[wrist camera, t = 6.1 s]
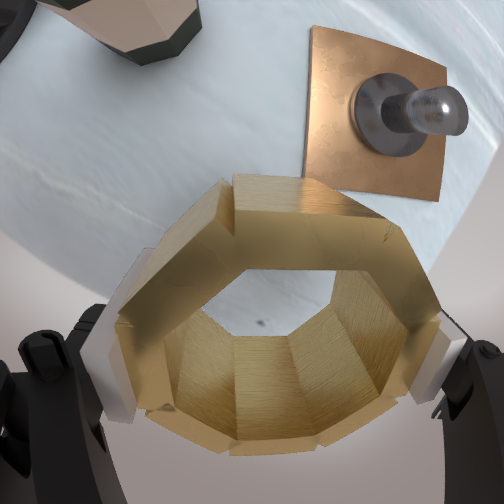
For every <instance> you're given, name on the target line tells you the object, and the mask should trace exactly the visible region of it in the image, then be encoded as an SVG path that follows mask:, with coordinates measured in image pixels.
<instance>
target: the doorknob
mask: <svg viewBox="0 0 504 504" xmlns="http://www.w3.org/2000/svg"><path fill="white" fill-rule="evenodd" d="M468 118H469V116H468V108H467V105H466V102H465V100H464V98H463V97H462V95H461V94H460V93H459V92H458V91H457V90H456V89H455V88H453V87H451V86H447V69H446V67H444V66H442V65H440V64H438V63H436V62H433V61H431V60H429V59H426V58H424V57H422V56H419V55H417V54H414V53H412V52H409V51H406V50H404V49H401V48H398V47H395V46H392V45H389V44H386V43H383V42H380V41H377V40H374V39H370V38H367V37H363V36H360V35H356V34H352V33H348V32H344V31H340V30H336V29H331V28H326V27H321V26H316V25H313V26H312V27H311V28H310V51H309V78H308V98H307V116H306V132H305V146H304V159H303V172H302V178H309V179H315V180H317V181H319V182H321V183H323V184H325V185H327V186H329V187H330V188H333V189H343V190H353V191H362V192H370V193H379V194H386V195H394V196H401V197H408V198H415V199H422V200H428V201H434V202H439V195H440V189H441V182H442V174H443V165H444V155H445V143H446V135H452V136H458V135H460V134H462V133H463V132H464V131H465V129H466V127H467V125H468Z"/></svg>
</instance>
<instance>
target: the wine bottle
mask: <svg viewBox="0 0 504 504" xmlns="http://www.w3.org/2000/svg"><path fill="white" fill-rule="evenodd" d="M35 1H36V2H38V3H40V4H42V5H43V6H45V7H47V8H48V9H50V10H52V11H53V12H55V13H56V14H58V15H60V16H61V17H63V18H64V19H66V20H68V21H69V22H71V23H72V24H74V25H75V26H77V27H78V28H80V29H81V30H83V31H84V32H86V33H87V34H89V35H90V36H92V37H93V38H95V39H96V40H98V41H99V42H101V43H102V44H104V45H105V46H106V47H108V48H109V49H111V50H112V51H113V52H115V53H117V54H119V55H121V56H123V57H125V58H127V59H129V60H131V61H133V62H135V63H137V64H139V65H141V66H142V65H145V64H149V63H152V62H156V61H159V60H163V59H167V58H171V57H175V56H179V54H180V53H181V52H182V51H183V49H184V48H185V47H186V46H187V45H188V43H189V42H190V41H191V40H192V39H193V38H194V36H195V35H196V34H197V33H198V32H199V31H200V30H201V28H202V24H201V18H200V11H199V5H198V0H35Z"/></svg>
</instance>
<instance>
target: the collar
mask: <svg viewBox="0 0 504 504" xmlns="http://www.w3.org/2000/svg"><path fill="white" fill-rule="evenodd" d="M246 269H275V270H337V271H336V276H335V281H334V286H333V291H332V296H331V301H330V304H329V305H328V306H326V307H325V308H324V309H322V310H321V311H320V312H319V313H317V314H316V315H315V316H313V317H312V318H311V319H309V320H308V321H307V322H305V323H304V324H303V325H301V326H300V327H299V328H297V329H296V330H295V331H293V332H292V333H291V334H289V335H288V336H232V335H231V334H230V333H229V332H227V331H226V330H225V329H224V328H223V327H221V326H220V325H219V324H218V323H217V322H215V321H214V320H213V319H212V318H211V317H209V316H208V315H207V314H206V313H205V312H203V311H202V310H201V309H200V308H201V307H202V306H203V305H204V304H205V303H207V302H208V301H209V300H210V299H211V298H213V297H214V296H215V295H216V294H217V293H219V292H220V291H221V290H222V289H223V288H225V287H226V286H227V285H228V284H229V283H231V282H232V281H233V280H234V279H235V278H237V277H238V276H239V275H240V274H241V273H242V272H244V271H245V270H246ZM441 310H442V308H441V306H440V304H439V301H438V299H437V297H436V295H435V292H434V290H433V288H432V286H431V284H430V282H429V280H428V278H427V276H426V274H425V272H424V270H423V268H422V266H421V264H420V262H419V260H418V258H417V256H416V255H415V253H414V251H413V249H412V247H411V245H410V243H409V242H408V240H407V238H406V236H405V235H404V233H403V231H402V229H401V228H400V227H399V226H397V225H396V224H394V223H392V222H391V221H389V220H388V219H386V218H385V217H383V216H381V215H380V214H378V213H376V212H374V211H373V210H371V209H369V208H367V207H366V206H364V205H362V204H360V203H358V202H357V201H355V200H353V199H351V198H349V197H347V196H346V195H344V194H342V193H340V192H338V191H336V190H334V189H332V188H330V187H329V186H327V185H325V184H323V183H321V182H319V181H317V180H315V179H309V178H297V177H284V176H268V175H250V174H233V181H232V187H231V186H230V185H229V183H228V182H227V181H226V180H225V179H224V178H222V179H221V180H219V181H218V182H217V183H216V184H215V185H214V186H213V187H212V188H211V189H210V190H209V191H208V192H207V193H205V194H204V195H203V196H202V197H201V198H200V199H199V200H198V201H197V202H196V203H195V204H194V205H193V206H192V207H191V208H190V209H189V210H188V211H187V212H186V213H185V214H184V215H183V216H182V217H181V218H180V219H178V220H177V221H176V222H175V223H174V224H173V225H172V226H171V227H170V228H169V229H168V230H167V231H166V233H165V234H164V236H163V237H162V239H161V241H160V242H159V244H158V245H157V247H156V248H155V250H154V252H153V253H152V255H151V256H150V258H149V260H148V261H147V263H146V264H145V266H144V268H143V269H142V271H141V273H140V274H139V276H138V278H137V279H136V281H135V283H134V284H133V286H132V288H131V290H130V291H129V293H128V295H127V296H126V298H125V300H124V302H123V303H122V305H121V307H120V309H119V310H118V312H117V313H118V314H119V317H118V319H117V321H116V323H115V325H114V327H115V332H116V334H118V338H119V342H120V346H121V350H122V354H123V358H124V362H125V365H126V369H127V372H128V376H129V379H130V382H131V386H132V389H133V392H134V395H135V398H136V401H137V408H139V409H146V413H145V416H146V417H147V418H149V419H151V420H152V421H154V422H156V423H158V424H160V425H161V426H163V427H165V428H167V429H169V430H170V431H172V432H174V433H176V434H178V435H180V436H182V437H184V438H186V439H188V440H190V441H192V442H194V443H196V444H198V445H200V446H202V447H205V448H207V449H209V450H211V451H213V452H216V453H218V454H220V453H222V452H224V451H227V450H229V456H252V455H273V454H287V453H297V452H306V451H314V450H315V449H316V447H317V445H318V444H319V445H321V446H324V447H326V446H328V445H330V444H332V443H334V442H336V441H338V440H340V439H341V438H343V437H345V436H347V435H348V434H350V433H352V432H354V431H355V430H357V429H359V428H360V427H362V426H364V425H366V424H367V423H369V422H370V421H372V420H374V419H375V418H377V417H378V416H380V415H381V414H383V413H384V412H386V411H387V410H389V409H390V408H392V407H393V406H395V405H396V404H398V402H397V400H396V397H401V396H405V395H406V394H407V392H408V390H409V388H410V387H411V385H412V383H413V381H414V379H415V377H416V375H417V373H418V371H419V369H420V367H421V365H422V363H423V361H424V359H425V357H426V355H427V353H428V351H429V349H430V346H431V344H432V342H433V340H434V337H435V335H436V333H437V330H438V328H439V326H440V323H441V321H442V320H441V319H440V318H439V317H438V316H437V314H438V313H439V312H440V311H441Z"/></svg>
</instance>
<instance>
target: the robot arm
mask: <svg viewBox="0 0 504 504" xmlns="http://www.w3.org/2000/svg"><path fill="white" fill-rule="evenodd" d="M36 3H37V2H36V1H35V0H0V62H1V60H2V59H3V58H4V57H5V56H6V54H7V53H8V52H9V51H10V49H11V48H12V46H13V45H14V44H15V42H16V41H17V39H18V38H19V36H20V35H21V33H22V31H23V30H24V28H25V26H26V24H27V23H28V21H29V19H30V17H31V15H32V12H33V10H34V8H35V5H36ZM154 250H155V248H144V249H143V250H142V252H141V253H140V255H139V256H138V258H137V259H136V261H135V262H134V264H133V265H132V267H131V268H130V270H129V271H128V273H127V274H126V276H125V277H124V279H123V280H122V282H121V283H120V285H119V286H118V288H117V289H116V291H115V293H114V294H113V296H112V297H111V299H110V301H109V302H108V304H107V305H106V304H94V305H93V306H91V307H90V308H88V309H87V310H86V311H85V312H84V313H83V314H82V316H81V317H80V319H79V322H77V324H76V325H75V326H74V330H72V331H71V333H70V334H69V336H68V337H67V339H66V340H65V341H64V338H63V336H62V335H61V334H60V333H59V332H56V331H53V330H41V331H37V332H33V333H32V334H30V335H28V336H27V337H25V338H24V340H23V341H22V342H21V343H20V345H19V348H18V351H19V354H20V356H21V358H22V360H23V362H24V364H25V366H26V368H27V370H28V372H19V373H11V372H10V371H9V369H8V367H7V365H6V364H5V363H4V362H3V361H2V360H0V434H1V431H2V427H3V428H4V431H3V433H2V435H0V504H127V501H126V498H125V496H124V493H123V491H122V488H121V485H120V482H119V480H118V477H117V474H116V471H115V468H114V465H113V461H112V458H111V455H110V452H109V448H108V445H107V441H106V437H105V434H104V430H103V427H102V425H101V423H100V421H99V420H100V417H101V414H102V411H103V410H104V412H105V414H106V416H107V418H108V420H110V421H116V422H122V423H128V424H132V423H133V420H134V415H135V411H136V407H137V401H136V398H135V395H134V392H133V389H132V386H131V382H130V379H129V376H128V372H127V369H126V365H125V362H124V358H123V354H122V350H121V346H120V342H119V338H118V334H116V332H115V327H114V325H115V323H116V321H117V319H118V317H119V314H118V313H117V312H118V310H119V309H120V307H121V305H122V303H123V302H124V300H125V298H126V296H127V295H128V293H129V291H130V290H131V288H132V286H133V284H134V283H135V281H136V279H137V278H138V276H139V274H140V273H141V271H142V269H143V268H144V266H145V264H146V263H147V261H148V260H149V258H150V256H151V255H152V253H153V252H154ZM437 316H438V317H439V318H440V319H441V320H442V321H441V323H440V326H439V328H438V330H437V333H436V335H435V337H434V340H433V342H432V344H431V346H430V349H429V351H428V353H427V355H426V357H425V359H424V361H423V363H422V365H421V367H420V369H419V371H418V373H417V375H416V377H415V379H414V381H413V383H412V385H411V387H410V388H409V392H410V393H411V395H412V397H413V399H414V400H415V402H416V404H417V405H418V404H421V403H425V402H428V401H431V400H434V398H435V396H436V395H437V393H438V391H439V390H440V388H442V389H443V391H444V392H445V395H444V397H443V398H442V400H441V401H440V403H439V404H438V406H437V407H436V409H435V410H434V412H433V413H432V417H431V418H433V419H434V418H435V416H436V415H437V413H438V412H439V411H440V410H441V413H440V415H439V416H438V419H442V421H443V434H444V450H445V501H444V504H504V353H501V351H500V349H499V348H498V347H496V346H495V345H494V344H492V343H490V342H488V341H485V340H477V341H475V342H474V340H472V338H471V337H470V336H469V335H468V334H467V333H466V332H465V331H464V330H463V329H462V328H461V327H460V326H459V325H458V324H457V323H455V321H454V320H453V319H452V318H451V317H449V315H448V314H447V313H446V312H445V311H444V310H443V309H442V310H441V311H440V312H439V313H438V314H437Z"/></svg>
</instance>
